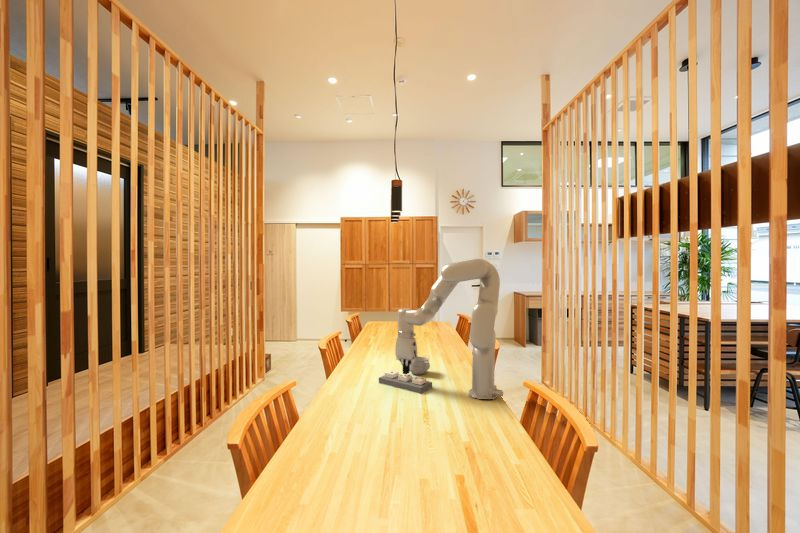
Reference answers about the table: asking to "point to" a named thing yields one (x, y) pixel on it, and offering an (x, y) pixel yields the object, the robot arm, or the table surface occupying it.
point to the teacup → (420, 365)
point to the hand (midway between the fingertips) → (406, 373)
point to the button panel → (405, 384)
